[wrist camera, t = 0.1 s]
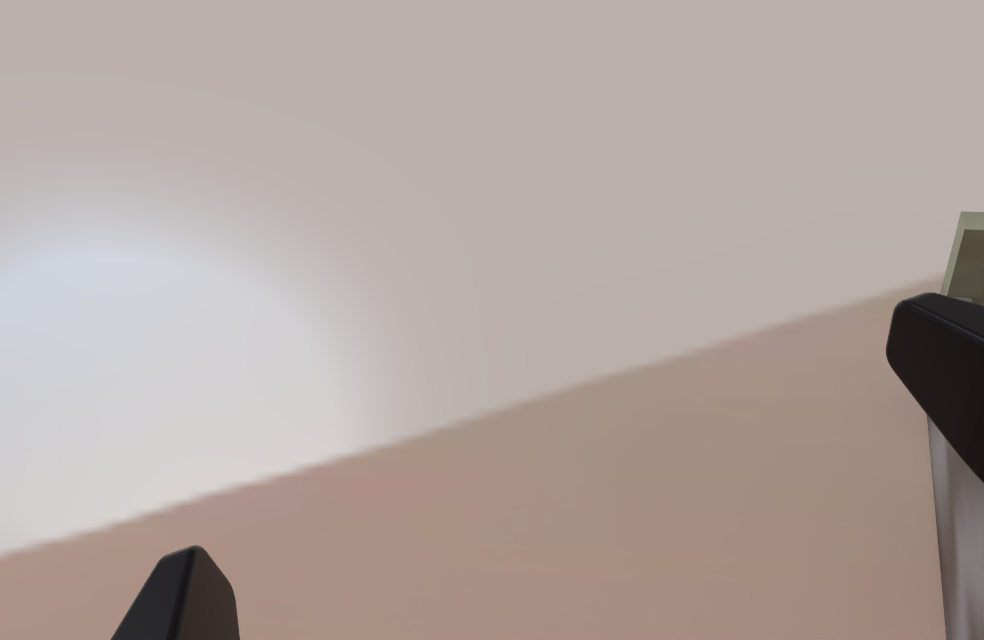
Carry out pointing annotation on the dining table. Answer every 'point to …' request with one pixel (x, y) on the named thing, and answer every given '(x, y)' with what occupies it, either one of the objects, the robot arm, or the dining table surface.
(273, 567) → the dining table surface
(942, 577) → the trap box
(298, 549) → the dining table surface
